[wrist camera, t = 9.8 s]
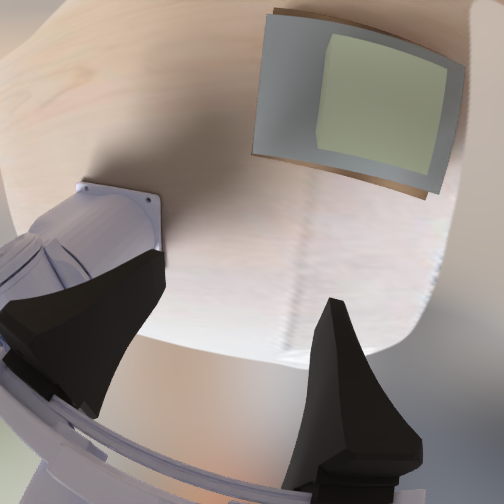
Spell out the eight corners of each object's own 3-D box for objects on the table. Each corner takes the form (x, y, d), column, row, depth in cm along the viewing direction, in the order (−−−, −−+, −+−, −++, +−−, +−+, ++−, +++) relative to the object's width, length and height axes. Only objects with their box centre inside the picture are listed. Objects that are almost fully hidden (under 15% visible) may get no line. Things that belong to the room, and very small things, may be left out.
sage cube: (315, 132, 13) (317, 148, 10) (325, 51, 11) (332, 33, 7) (396, 151, 13) (427, 175, 9) (410, 73, 10) (447, 69, 7)
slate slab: (260, 145, 17) (252, 153, 15) (273, 24, 12) (266, 14, 10) (424, 181, 15) (438, 194, 13) (447, 68, 11) (465, 67, 9)
